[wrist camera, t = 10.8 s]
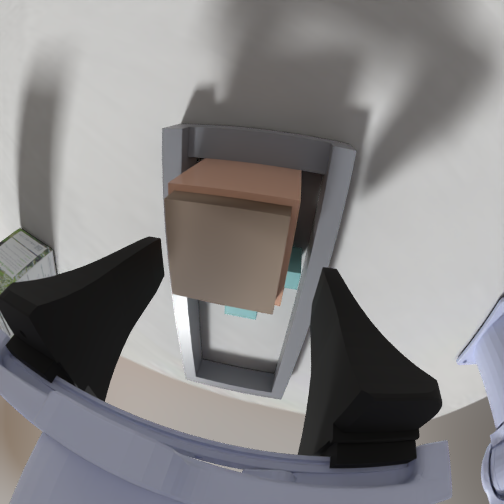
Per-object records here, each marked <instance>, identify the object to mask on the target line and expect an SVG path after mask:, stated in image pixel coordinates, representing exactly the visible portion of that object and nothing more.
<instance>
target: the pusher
mask: <svg viewBox="0 0 504 504" xmlns="http://www.w3.org/2000/svg"><path fill="white" fill-rule="evenodd" d="M301 258H302V248H298V247H293V246H292V251H291V256H290V261H289V266H288V271H287V276H286V281H285V286H284V288H290V289H296V290H297V287H298V283H299V279H300V275H301ZM225 314H229V315H234V316H239V317H244V318H249V319H255V320H256V316H257V312H256V311H251V310H245V309H240V308H235V307H230V306H225Z"/></svg>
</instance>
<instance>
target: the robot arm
mask: <svg viewBox="0 0 504 504" xmlns="http://www.w3.org/2000/svg"><path fill="white" fill-rule="evenodd" d="M163 277H164V267H163V258H162V248H161V239H160V238H155V237H146V238H144V239H141V240H139V241H137V242H135V243H133V244H131V245H129V246H127V247H125V248H123V249H121V250H118V251H116V252H114V253H112V254H110V255H108V256H106V257H104V258H102V259H99V260H97V261H95V262H93V263H90V264H88V265H86V266H83V267H80V268H77V269H75V270H72V271H68V272H65V273H62V274H58V275H55V276H51V277H46V278H42V279H36V280H30V281H22V282H13V283H11V284H10V285H9V286H8V287H7V288H6V289H5V290H4V291H3V292H2V293H1V294H0V311H1V313H2V315H3V317H4V319H5V320H6V322H7V324H8V326H9V327H10V329H11V330H12V332H13V334H14V335H13V337H12V338H10V337H9V336H8V335H7V334H6V333H5V332H4V331H2V330H1V329H0V395H1V396H2V397H3V398H4V399H5V400H6V401H7V402H8V403H9V404H10V405H11V406H13V407H14V408H15V409H16V410H17V411H18V412H19V413H20V414H22V415H23V416H24V417H25V418H26V419H27V420H29V421H30V422H31V423H32V424H34V425H35V426H36V427H37V428H39V429H40V430H41V431H42V434H41V436H40V438H39V440H38V442H37V444H36V446H35V448H34V449H33V452H32V454H31V456H30V458H29V460H28V462H27V464H26V466H25V468H24V470H23V473H22V475H21V477H20V479H19V481H18V484H17V486H16V488H15V491H14V493H13V496H12V498H11V501H10V503H9V504H435V503H438V502H442V501H445V500H447V499H450V498H451V497H452V480H451V466H450V456H449V448H448V441H446V440H445V441H440V442H433V443H427V444H423V445H420V446H417V447H416V443H415V440H416V439H418V438H419V428H420V427H421V426H423V425H424V424H425V423H427V422H428V421H429V420H431V419H432V418H433V417H434V416H435V415H436V414H437V413H438V412H439V410H440V409H441V407H442V399H441V395H440V390H439V386H438V383H437V380H436V379H434V378H433V377H431V376H430V375H428V374H427V373H426V372H424V371H423V370H421V369H420V368H418V367H417V366H416V365H415V364H413V363H412V362H411V361H410V360H408V359H407V358H406V357H405V356H404V355H403V354H401V353H400V352H399V351H398V350H397V349H396V348H395V347H394V346H393V345H392V344H391V343H390V342H389V341H388V340H387V339H386V338H385V337H384V336H383V335H382V334H381V333H380V331H379V330H378V329H377V328H376V327H375V326H374V324H373V323H372V322H371V321H370V319H369V318H368V317H367V315H366V314H365V313H364V311H363V310H362V309H361V307H360V306H359V304H358V303H357V301H356V300H355V298H354V297H353V295H352V294H351V292H350V290H349V289H348V287H347V285H346V284H345V282H344V280H343V279H342V277H341V275H340V274H339V272H338V271H337V269H332V268H327V267H323V268H322V271H321V275H320V278H319V282H318V285H317V288H316V292H315V295H314V298H313V301H312V309H311V320H310V333H311V379H310V388H309V396H308V403H307V410H306V416H305V422H304V428H303V433H302V438H301V443H300V447H299V452H298V455H294V454H283V453H276V452H268V451H262V450H255V449H250V448H244V447H238V446H234V445H229V444H225V443H220V442H216V441H212V440H208V439H204V438H201V437H197V436H193V435H190V434H186V433H183V432H180V431H177V430H174V429H171V428H168V427H165V426H162V425H159V424H156V423H153V422H151V421H148V420H146V419H143V418H140V417H138V416H135V415H133V414H131V413H128V412H126V411H124V410H121V409H119V408H117V407H115V406H112V405H110V404H108V403H106V402H105V398H106V395H107V391H108V388H109V384H110V380H111V378H112V375H113V372H114V369H115V366H116V364H117V361H118V359H119V356H120V354H121V351H122V349H123V347H124V345H125V343H126V340H127V338H128V336H129V334H130V332H131V330H132V329H133V327H134V325H135V324H136V322H137V321H138V319H139V318H140V316H141V315H142V313H143V312H144V310H145V309H146V307H147V305H148V304H149V302H150V301H151V299H152V298H153V296H154V295H155V293H156V292H157V290H158V288H159V286H160V283H161V281H162V279H163ZM456 362H457V364H458V365H465V364H477V366H478V369H479V372H480V374H481V377H482V380H483V383H484V387H485V390H486V393H487V396H488V400H489V403H490V407H491V411H492V414H493V418H494V422H495V427H496V431H495V432H494V433H492V434H491V435H490V437H491V443H490V444H489V446H488V447H487V449H486V452H485V455H484V458H483V461H482V467H481V479H482V484H483V488H484V490H485V492H486V494H487V496H488V499H489V504H504V297H503V298H501V299H500V300H499V302H498V304H497V305H496V307H495V308H494V310H493V311H492V313H491V314H490V316H489V317H488V319H487V320H486V322H485V323H484V325H483V326H482V328H481V329H480V330H479V332H478V333H477V335H476V336H475V337H474V339H473V340H472V341H471V342H470V344H469V345H468V346H467V348H466V349H465V350H464V351H463V353H462V354H461V355H460V356H459V357H458V359H457V360H456ZM191 457H192V458H191ZM193 458H195V459H193ZM196 459H199V460H202V461H206V462H210V463H214V464H219V465H223V466H228V467H232V468H238V469H243V471H242V473H241V472H237V471H233V470H229V469H226V468H222V467H218V466H215V465H212V464H209V463H205V462H202V461H199V460H196Z"/></svg>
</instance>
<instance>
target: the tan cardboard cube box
mask: <svg viewBox="0 0 504 504" xmlns="http://www.w3.org/2000/svg"><path fill="white" fill-rule="evenodd" d="M300 203H301V170H296V169H290V168H284V167H277V166H270V165H263V164H256V163H248V162H239V161H230V160H220V159H210V158H205V159H203V160H202V161H200V162H198V163H197V164H195V165H194V166H192V167H191V168H189V169H188V170H186V171H185V172H183V173H182V174H180V175H179V176H177V177H176V178H174V179H173V180H171V181H170V182H169V183H168V196H167V197H166V198H164V206H165V223H166V237H167V249H168V260H169V270H170V279H171V288H172V294H175V295H179V296H183V297H188V298H192V299H197V300H201V301H206V302H211V303H215V304H220V305H225V306H230V307H235V308H240V309H245V310H251V311H256V312H261V313H267V314H273V310H274V305H277V306H280V304H281V300H282V295H283V290H284V286H285V281H286V276H287V271H288V266H289V261H290V256H291V251H292V246H293V241H294V235H295V230H296V225H297V219H298V214H299V208H300Z"/></svg>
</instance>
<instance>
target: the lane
mask: <svg viewBox="0 0 504 504" xmlns="http://www.w3.org/2000/svg"><path fill="white" fill-rule="evenodd" d="M356 152H357V151H356V150H355V149H354V148H353V147H352V146H351V145H349V144H347V143H342V142H338V141H333V140H328V139H323V138H317V137H312V136H306V135H300V134H294V133H287V132H280V131H273V130H265V129H256V128H246V127H235V126H221V125H203V124H178V125H174V126H170V127H166V128H162V168H163V199H164V198H166V197H167V196H168V183H169V182H170V181H171V180H173V179H174V178H176V177H177V176H179V175H180V174H182V173H183V172H185V171H186V170H188V169H189V168H191V167H192V166H194V165H195V164H197V157H198V158H210V159H220V160H230V161H239V162H248V163H256V164H263V165H270V166H277V167H284V168H290V169H296V170H302V171H308V172H313V173H319V174H323V176H322V182H321V187H320V192H319V197H318V202H317V207H316V212H315V217H314V222H313V226H312V231H311V236H310V240H309V245H308V249H307V253H306V258H305V262H304V266H303V270H302V274H301V279H300V283H299V287H298V291H297V295H296V299H295V302H294V306H293V310H292V314H291V318H290V321H289V325H288V329H287V332H286V336H285V339H284V343H283V347H282V350H281V353H280V357H279V360H278V364H277V367H276V370H275V374H273V373H267V372H261V371H256V370H250V369H245V368H240V367H235V366H231V365H226V364H221V363H217V362H213V361H209V360H204V359H202V348H201V335H200V320H199V302H198V300H197V299H192V298H188V297H183V296H179V295H175V294H172V300H173V307H174V314H175V321H176V327H177V334H178V340H179V346H180V351H181V357H182V362H183V367H184V373H185V377H186V379H187V380H190V381H194V382H198V383H202V384H206V385H210V386H214V387H218V388H222V389H227V390H231V391H236V392H241V393H246V394H251V395H257V396H262V397H268V398H275V399H282V396H283V394H284V392H285V389H286V387H287V384H288V382H289V379H290V377H291V374H292V372H293V369H294V366H295V364H296V361H297V359H298V356H299V353H300V351H301V348H302V345H303V342H304V340H305V337H306V334H307V331H308V328H309V326H310V320H311V309H312V301H313V298H314V295H315V292H316V288H317V285H318V282H319V278H320V275H321V271H322V268H323V267H327V268H328V266H329V263H330V259H331V256H332V252H333V249H334V245H335V241H336V238H337V234H338V230H339V226H340V223H341V219H342V215H343V211H344V207H345V202H346V198H347V194H348V190H349V185H350V181H351V176H352V171H353V167H354V162H355V157H356ZM164 217H165V206H164ZM165 232H166V223H165ZM166 244H167V237H166ZM167 255H168V249H167ZM168 266H169V260H168ZM169 275H170V270H169ZM170 284H171V279H170ZM171 292H172V288H171Z"/></svg>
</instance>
